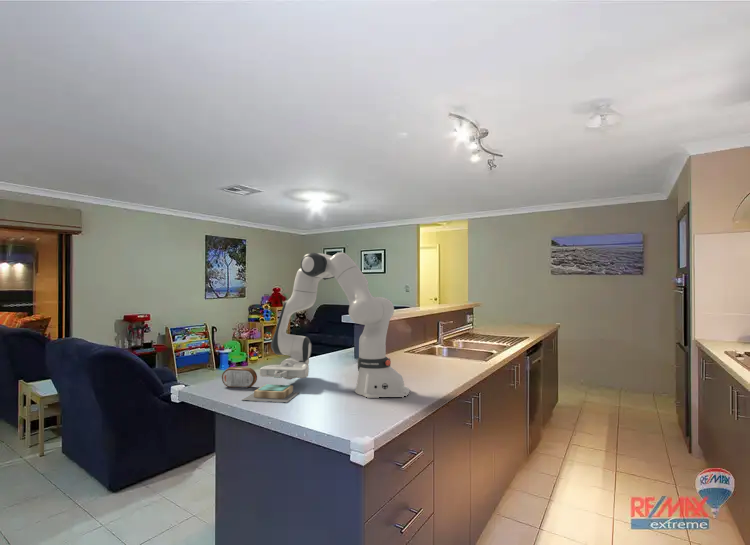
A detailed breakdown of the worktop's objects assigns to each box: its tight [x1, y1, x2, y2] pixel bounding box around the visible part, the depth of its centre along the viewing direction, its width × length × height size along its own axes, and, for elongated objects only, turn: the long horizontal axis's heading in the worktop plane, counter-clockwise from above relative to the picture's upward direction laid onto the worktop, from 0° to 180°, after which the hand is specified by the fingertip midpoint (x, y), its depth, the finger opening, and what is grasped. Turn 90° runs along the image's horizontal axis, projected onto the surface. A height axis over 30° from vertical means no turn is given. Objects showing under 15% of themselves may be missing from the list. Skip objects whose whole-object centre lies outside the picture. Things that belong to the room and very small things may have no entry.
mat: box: [242, 391, 300, 404], centre depth 146 cm, size 18×13×1 cm
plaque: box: [253, 383, 294, 399], centre depth 148 cm, size 12×3×10 cm
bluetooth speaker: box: [221, 366, 258, 388], centre depth 160 cm, size 15×3×8 cm, turn 84°
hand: (277, 375), depth 151 cm, fingers closed
